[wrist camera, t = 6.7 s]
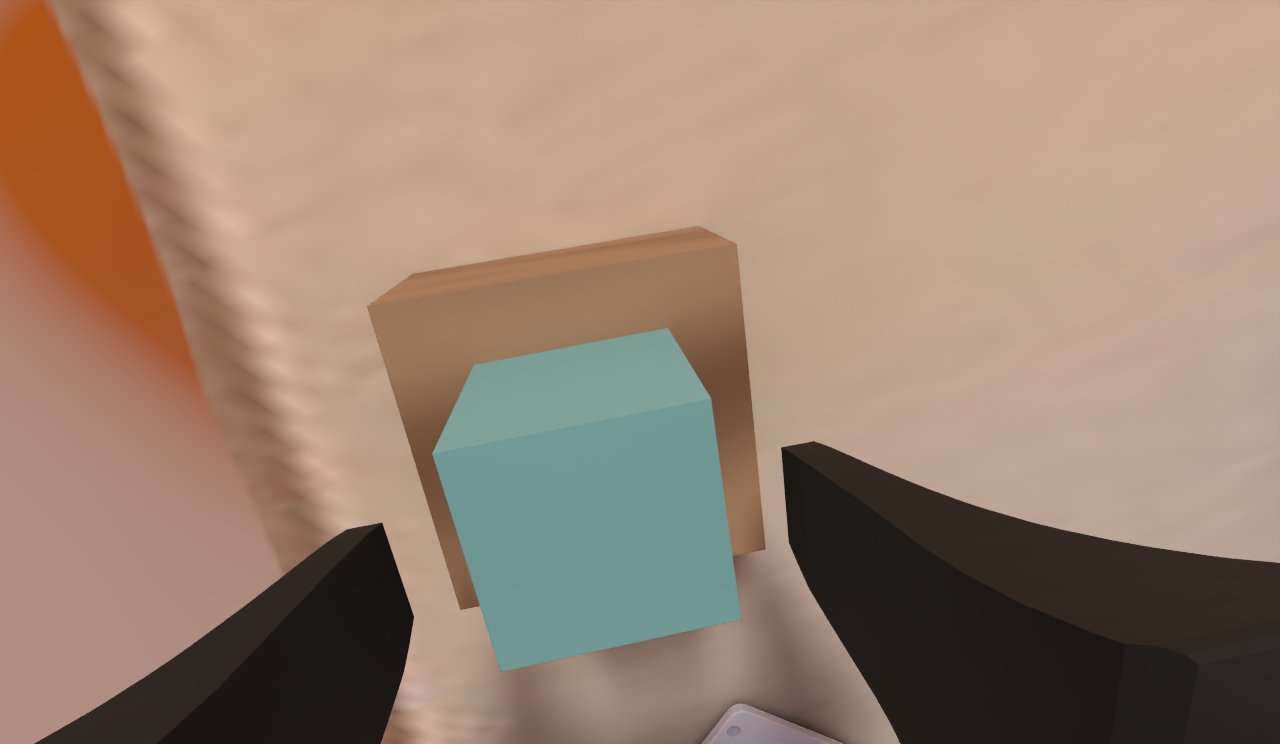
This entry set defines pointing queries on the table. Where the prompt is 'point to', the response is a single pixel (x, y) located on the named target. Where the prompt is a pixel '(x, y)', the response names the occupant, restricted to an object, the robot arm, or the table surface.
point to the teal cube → (589, 498)
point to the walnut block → (568, 316)
